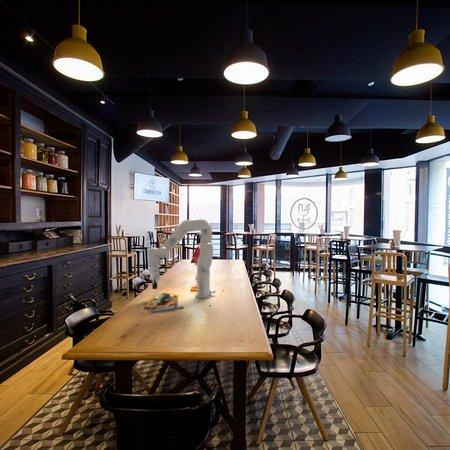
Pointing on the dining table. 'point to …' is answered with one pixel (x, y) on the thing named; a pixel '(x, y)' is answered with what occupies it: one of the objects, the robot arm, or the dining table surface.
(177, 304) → the post
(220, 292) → the dining table surface
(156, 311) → the wall strip
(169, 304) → the decorative plaque
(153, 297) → the post
